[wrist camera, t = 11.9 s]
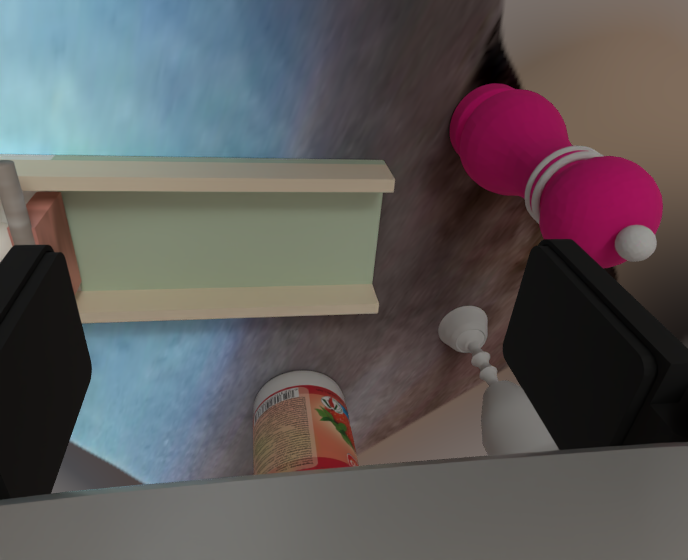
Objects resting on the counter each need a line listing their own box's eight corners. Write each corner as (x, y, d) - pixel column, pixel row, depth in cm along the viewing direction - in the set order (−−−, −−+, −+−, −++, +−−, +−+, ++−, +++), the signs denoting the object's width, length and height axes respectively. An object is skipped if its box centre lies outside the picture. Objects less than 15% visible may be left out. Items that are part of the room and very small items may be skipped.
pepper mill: (523, 165, 44) (690, 306, 27) (438, 171, 43) (558, 321, 26) (539, 73, 40) (747, 173, 23) (446, 78, 39) (593, 186, 23)
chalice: (460, 286, 50) (551, 437, 35) (511, 312, 52) (616, 462, 38) (414, 340, 53) (480, 502, 38) (465, 363, 55) (545, 521, 40)
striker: (14, 132, 35) (-90, 223, 24) (53, 133, 36) (-32, 222, 25) (65, 324, 44) (5, 454, 33) (96, 323, 44) (47, 451, 33)
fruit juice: (255, 366, 51) (262, 723, 28) (350, 367, 53) (430, 702, 30) (249, 433, 56) (251, 784, 33) (336, 432, 58) (395, 763, 35)
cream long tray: (-71, 153, 36) (-141, 202, 30) (383, 160, 42) (409, 202, 35) (-19, 296, 43) (-67, 363, 36) (368, 287, 48) (388, 343, 42)
